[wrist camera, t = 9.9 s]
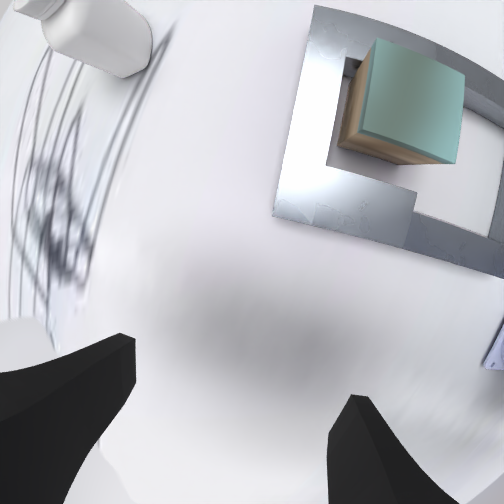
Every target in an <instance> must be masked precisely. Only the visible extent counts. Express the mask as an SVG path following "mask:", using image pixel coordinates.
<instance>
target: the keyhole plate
mask: <svg viewBox="0 0 504 504" xmlns="http://www.w3.org/2000/svg"><path fill="white" fill-rule="evenodd" d="M376 38H380V39H383V40H386V41H389V42H391V43H394V44H397V45H400V46H402V47H405V48H407V49H410V50H412V51H415V52H417V53H420V54H422V55H424V56H427V57H429V58H431V59H433V60H435V61H438V62H440V63H442V64H444V65H446V66H448V67H450V68H452V69H454V70H456V71H458V72H460V73H462V74H463V75H465V86H464V101H463V106H464V107H466V108H468V109H470V110H472V111H474V112H476V113H478V114H480V115H481V116H483V117H485V118H487V119H488V120H490V121H492V122H494V123H495V124H497V125H499V126H500V127H502V128H503V129H504V81H503V80H502V79H500V78H499V77H497V76H496V75H494V74H493V73H491V72H489V71H488V70H486V69H484V68H483V67H481V66H479V65H478V64H476V63H474V62H472V61H471V60H469V59H467V58H465V57H463V56H461V55H459V54H458V53H456V52H454V51H452V50H450V49H448V48H446V47H443V46H441V45H439V44H437V43H435V42H433V41H430V40H428V39H426V38H423V37H421V36H419V35H416V34H414V33H411V32H409V31H406V30H403V29H401V28H398V27H395V26H392V25H390V24H387V23H384V22H381V21H377V20H374V19H371V18H368V17H364V16H361V15H357V14H353V13H349V12H345V11H341V10H337V9H332V8H328V7H323V6H318V5H314V10H313V16H312V21H311V26H310V31H309V36H308V42H307V47H306V52H305V57H304V62H303V67H302V72H301V77H300V82H299V88H298V93H297V97H296V102H295V107H294V112H293V117H292V122H291V127H290V132H289V137H288V142H287V147H286V151H285V156H284V161H283V166H282V171H281V175H280V180H279V185H278V190H277V194H276V199H275V204H274V208H273V213H272V216H274V217H279V218H283V219H287V220H292V221H296V222H300V223H304V224H309V225H313V226H317V227H321V228H325V229H329V230H333V231H337V232H341V233H345V234H349V235H353V236H357V237H361V238H365V239H368V240H372V241H376V242H380V243H384V244H387V245H391V246H395V247H398V248H402V249H406V250H409V251H413V252H416V253H420V254H423V255H427V256H430V257H434V258H437V259H441V260H444V261H447V262H451V263H454V264H457V265H461V266H464V267H467V268H471V269H474V270H477V271H480V272H483V273H487V274H490V275H493V276H496V277H499V278H502V279H504V163H503V170H502V176H501V182H500V188H499V193H498V198H497V203H496V207H495V212H494V216H493V220H492V224H491V228H490V232H489V235H488V237H486V236H483V235H481V234H478V233H476V232H473V231H471V230H468V229H465V228H463V227H460V226H457V225H454V224H452V223H449V222H446V221H443V220H440V219H437V218H434V217H431V216H428V215H425V214H422V213H419V212H416V211H413V209H414V205H415V201H416V197H417V192H414V191H411V190H408V189H405V188H402V187H399V186H395V185H392V184H389V183H386V182H383V181H379V180H376V179H373V178H369V177H366V176H362V175H359V174H355V173H352V172H348V171H344V170H340V169H337V168H333V167H329V166H325V164H326V159H327V155H328V150H329V145H330V140H331V135H332V130H333V125H334V120H335V114H336V109H337V103H338V98H339V92H340V86H341V81H342V75H345V76H349V77H352V78H353V77H354V75H355V74H356V72H357V70H358V68H359V67H360V65H361V63H362V62H363V60H364V58H365V57H366V55H367V53H368V52H369V50H370V48H371V47H372V45H373V43H374V41H375V40H376Z"/></svg>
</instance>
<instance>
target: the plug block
mask: <svg viewBox="0 0 504 504" xmlns="http://www.w3.org/2000/svg"><path fill="white" fill-rule="evenodd" d="M464 86H465V75H463V74H462V73H460V72H458V71H456V70H454V69H452V68H450V67H448V66H446V65H444V64H442V63H440V62H438V61H435V60H433V59H431V58H429V57H427V56H424V55H422V54H420V53H417V52H415V51H412V50H410V49H407V48H405V47H402V46H400V45H397V44H394V43H391V42H389V41H386V40H383V39H380V38H376V40H375V41H374V43H373V45H372V47H371V48H370V50H369V52H368V53H367V55H366V57H365V58H364V60H363V62H362V63H361V65H360V67H359V68H358V70H357V72H356V74H355V75H354V77H353V79H352V80H351V82H350V84H349V87H348V92H347V98H346V103H345V108H344V113H343V119H342V124H341V128H340V133H339V138H338V143H337V146H339V147H343V148H346V149H350V150H353V151H357V152H360V153H364V154H367V155H370V156H373V157H376V158H380V159H383V160H386V161H389V162H392V163H395V164H397V165H415V164H455V162H456V157H457V151H458V144H459V137H460V130H461V122H462V112H463V101H464Z"/></svg>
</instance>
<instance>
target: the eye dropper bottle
mask: <svg viewBox="0 0 504 504" xmlns="http://www.w3.org/2000/svg"><path fill="white" fill-rule="evenodd" d="M13 9H14V11H16V12H19V13H22V14H24V15H27V16H30V17H32V18H35V19H38V20H41V26H42V30H43V34H44V36H45V39H46V40H47V42H48V44H49V45H50V47H51V48H52V49H53V50H54V51H56V52H58V53H60V54H63V55H65V56H68V57H70V58H73V59H76V60H78V61H81V62H83V63H86V64H88V65H91V66H93V67H96V68H98V69H101V70H103V71H106V72H108V73H111V74H113V75H115V76H118V77H120V78H125V77H128V76H130V75H132V74H134V73H136V72H139V71H141V70H143V69H144V68H145V67H146V66H147V64H148V62H149V59H150V55H151V48H152V36H151V31H150V28H149V25H148V23H147V21H146V20H145V18H144V17H143V16H142V15H141V14H140V13H139V12H138V11H137V10H135V9H134V8H133V7H132V6H130V5H129V4H128V3H127V2H125V1H124V0H14V3H13Z"/></svg>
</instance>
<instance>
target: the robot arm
mask: <svg viewBox="0 0 504 504" xmlns="http://www.w3.org/2000/svg"><path fill="white" fill-rule="evenodd" d="M483 366H484V368H485V369H492V370H504V324H503V327H502V329H501V331H500V333H499V335H498V337H497V339H496V341H495V343H494V345H493V347H492V349H491V351H490V352H489V354H488V356H487V358H486V360H485V362H484V364H483ZM135 384H136V354H135V338H132V337H130V336H127V335H124V334H122V333H118V334H116V335H113V336H111V337H108V338H106V339H104V340H101V341H99V342H97V343H94V344H92V345H90V346H87V347H85V348H83V349H80V350H78V351H75V352H73V353H71V354H68V355H65V356H62V357H60V358H57V359H54V360H51V361H48V362H45V363H42V364H39V365H36V366H32V367H28V368H24V369H19V370H15V371H9V372H2V373H0V504H63V503H64V500H65V498H66V496H67V493H68V491H69V489H70V487H71V485H72V483H73V481H74V479H75V477H76V475H77V473H78V471H79V469H80V467H81V465H82V464H83V462H84V460H85V458H86V456H87V455H88V453H89V452H90V450H91V449H92V447H93V446H94V444H95V443H96V442H97V440H98V439H99V438H100V436H101V435H102V434H103V432H104V431H105V430H106V428H107V427H108V426H109V424H110V423H111V422H112V420H113V419H114V418H115V416H116V415H117V414H118V412H119V411H120V410H121V408H122V407H123V405H124V404H125V402H126V400H127V399H128V397H129V395H130V393H131V391H132V389H133V387H134V386H135ZM327 476H328V499H329V504H459V503H458V502H457V501H455V500H454V499H453V498H452V497H450V496H449V495H448V494H447V493H445V492H444V491H443V490H442V489H441V488H440V487H439V486H438V485H437V484H436V483H435V482H434V481H433V480H432V479H431V478H430V477H429V476H428V475H427V474H426V473H425V472H424V471H423V470H422V469H421V468H420V467H419V465H418V464H417V463H416V462H415V461H414V459H413V458H412V457H411V456H410V455H409V453H408V452H407V451H406V449H405V448H404V447H403V445H402V444H401V443H400V441H399V440H398V439H397V437H396V436H395V435H394V433H393V432H392V430H391V429H390V427H389V426H388V425H387V423H386V422H385V420H384V419H383V417H382V416H381V414H380V413H379V411H378V410H377V408H376V407H375V406H374V404H373V403H372V401H371V400H370V399H369V397H367V396H359V395H352V394H351V396H350V398H349V399H348V401H347V403H346V405H345V406H344V408H343V410H342V412H341V413H340V415H339V417H338V418H337V420H336V422H335V423H334V425H333V427H332V428H331V430H330V431H329V435H328V447H327Z"/></svg>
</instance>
